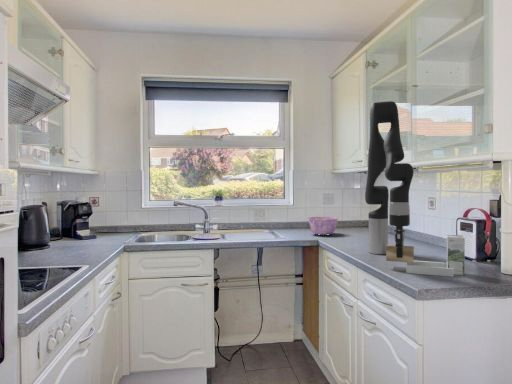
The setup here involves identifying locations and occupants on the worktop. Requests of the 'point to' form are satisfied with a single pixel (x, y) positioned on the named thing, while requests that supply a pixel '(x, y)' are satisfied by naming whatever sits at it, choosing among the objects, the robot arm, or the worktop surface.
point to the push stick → (407, 254)
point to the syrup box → (456, 253)
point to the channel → (427, 268)
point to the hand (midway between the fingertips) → (399, 256)
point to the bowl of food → (323, 225)
